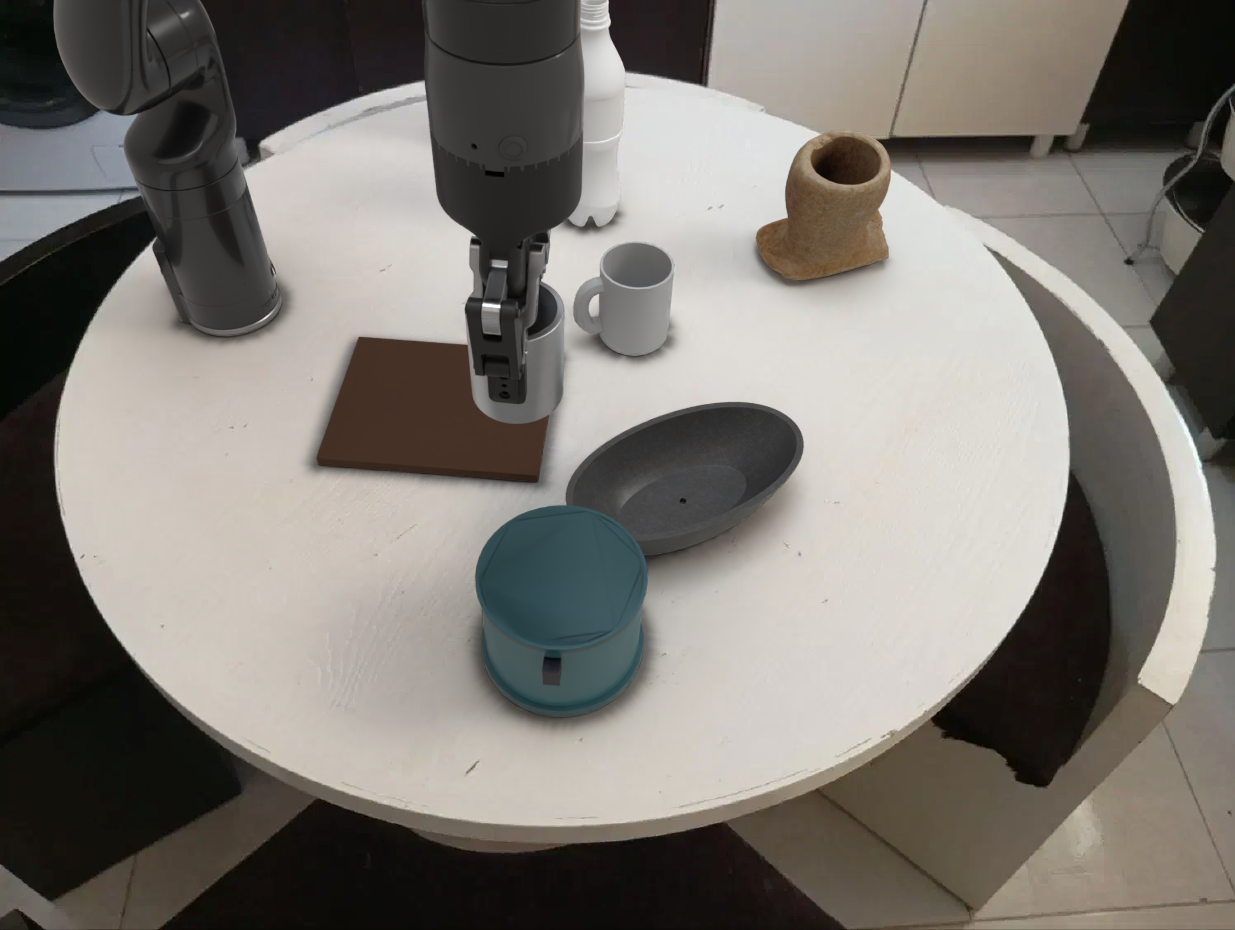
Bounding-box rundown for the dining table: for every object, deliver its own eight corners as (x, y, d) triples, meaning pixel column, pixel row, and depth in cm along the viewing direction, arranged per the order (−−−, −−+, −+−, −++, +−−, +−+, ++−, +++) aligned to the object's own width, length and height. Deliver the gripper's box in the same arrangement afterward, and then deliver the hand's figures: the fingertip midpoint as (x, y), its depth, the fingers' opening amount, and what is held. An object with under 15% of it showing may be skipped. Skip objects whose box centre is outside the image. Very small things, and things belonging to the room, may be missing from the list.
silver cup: (464, 419, 62) (455, 336, 56) (480, 353, 65) (474, 270, 60) (557, 428, 61) (557, 346, 56) (568, 362, 65) (569, 279, 60)
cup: (677, 350, 101) (685, 282, 94) (582, 368, 99) (583, 300, 92) (655, 304, 105) (661, 236, 98) (564, 321, 103) (563, 252, 96)
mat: (318, 465, 90) (315, 458, 89) (360, 343, 100) (358, 336, 99) (538, 482, 89) (537, 475, 88) (557, 358, 99) (557, 351, 99)
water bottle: (632, 210, 116) (644, -5, 96) (598, 241, 112) (604, 24, 92) (581, 188, 118) (582, -25, 99) (546, 219, 114) (540, 2, 95)
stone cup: (787, 306, 106) (813, 186, 94) (742, 239, 113) (761, 120, 101) (911, 279, 109) (951, 160, 98) (860, 216, 116) (892, 98, 105)
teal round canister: (467, 718, 75) (455, 653, 67) (496, 562, 84) (488, 489, 76) (637, 732, 74) (645, 669, 67) (647, 574, 83) (655, 502, 76)
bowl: (822, 514, 88) (836, 470, 83) (604, 614, 81) (606, 571, 76) (746, 423, 95) (756, 378, 90) (539, 508, 87) (537, 463, 83)
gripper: (457, 35, 53) (476, 279, 66) (396, 197, 44) (432, 443, 57) (597, 48, 53) (588, 290, 66) (565, 213, 44) (562, 456, 57)
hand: (516, 360), depth 61 cm, fingers closed on silver cup, 6 cm apart
